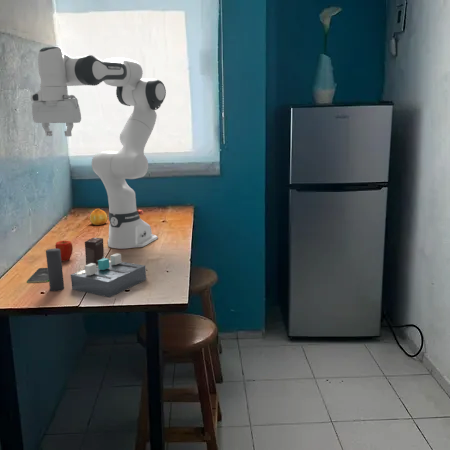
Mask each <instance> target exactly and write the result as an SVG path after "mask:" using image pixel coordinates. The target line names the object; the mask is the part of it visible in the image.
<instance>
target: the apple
mask: <svg viewBox="0 0 450 450" xmlns="http://www.w3.org/2000/svg"><path fill="white" fill-rule="evenodd" d="M55 248H57V249H60V252H61V262H66V261H69V260H70V259H71V257H72V254H73V243H72V241H70V240H59V241H57V242H56V243H55Z"/></svg>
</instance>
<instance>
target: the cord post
mask: <svg viewBox="0 0 450 450" xmlns="http://www.w3.org/2000/svg"><path fill="white" fill-rule="evenodd" d="M45 255H46V264H47V265H46V266H47V268H48V275H49V283H48V284H49V291H51V292H59V291H63V290H64V289H65V283H64V275H63V274H64V273H63V265H62V262H63V261H61V252H60V249H57V248H56V247H55V248H49V249H47V250H45Z"/></svg>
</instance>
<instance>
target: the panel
mask: <svg viewBox="0 0 450 450" xmlns="http://www.w3.org/2000/svg"><path fill="white" fill-rule="evenodd" d="M96 269H97V273H95V274H93V275H85V268H84V269H82V270H78V271H76V272H74V273H72V274H70V280H71V283H70V284H71V290H73V291H79V292H82V293H83V292H84V293H87V294H92V295H96V296H97V295H98V296H102V297H107V298H111V297H113V296H115V295H117V294H120V293H122V292H124V291H126V290H128V289H130V288H132V287H134V286H137V285H138V284H140V283H142V282H144V281H147V271H146V269H147V268H146V265H145V264H138V263H133V262H128V261H127V262H126V261H121V263H119V264H117V265H113V264H111V259H109V268H107V269H105V270H100V269H99V268H98V264H97V265H96Z"/></svg>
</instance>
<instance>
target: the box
mask: <svg viewBox="0 0 450 450" xmlns="http://www.w3.org/2000/svg"><path fill="white" fill-rule="evenodd" d="M84 251H85V265H88V264H90V263H94V264H96V265H97V264H98V260H100V259H103V258H105V253H104V238H103V237H102V238H101V237H92V238H89V239H87V240H85V241H84Z"/></svg>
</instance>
